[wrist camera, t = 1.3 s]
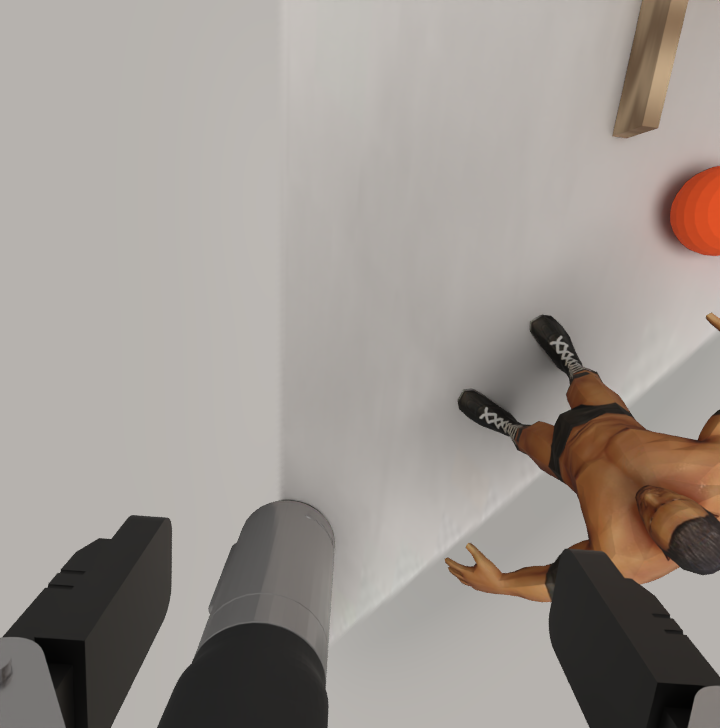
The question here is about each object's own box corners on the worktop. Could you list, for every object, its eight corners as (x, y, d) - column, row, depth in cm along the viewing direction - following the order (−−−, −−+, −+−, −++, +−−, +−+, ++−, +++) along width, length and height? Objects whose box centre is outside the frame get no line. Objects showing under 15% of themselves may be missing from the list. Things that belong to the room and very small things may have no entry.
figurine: (594, 251, 49) (944, 289, 20) (643, 300, 50) (1042, 404, 21) (401, 448, 53) (457, 719, 24) (450, 490, 54) (560, 797, 25)
